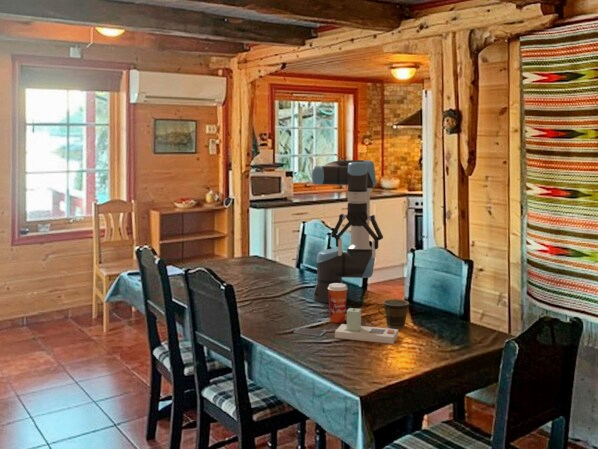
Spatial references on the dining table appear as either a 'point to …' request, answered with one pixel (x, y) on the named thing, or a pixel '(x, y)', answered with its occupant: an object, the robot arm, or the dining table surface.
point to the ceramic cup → (395, 313)
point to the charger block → (354, 320)
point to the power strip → (368, 334)
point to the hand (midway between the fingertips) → (356, 256)
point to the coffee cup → (337, 302)
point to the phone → (310, 332)
